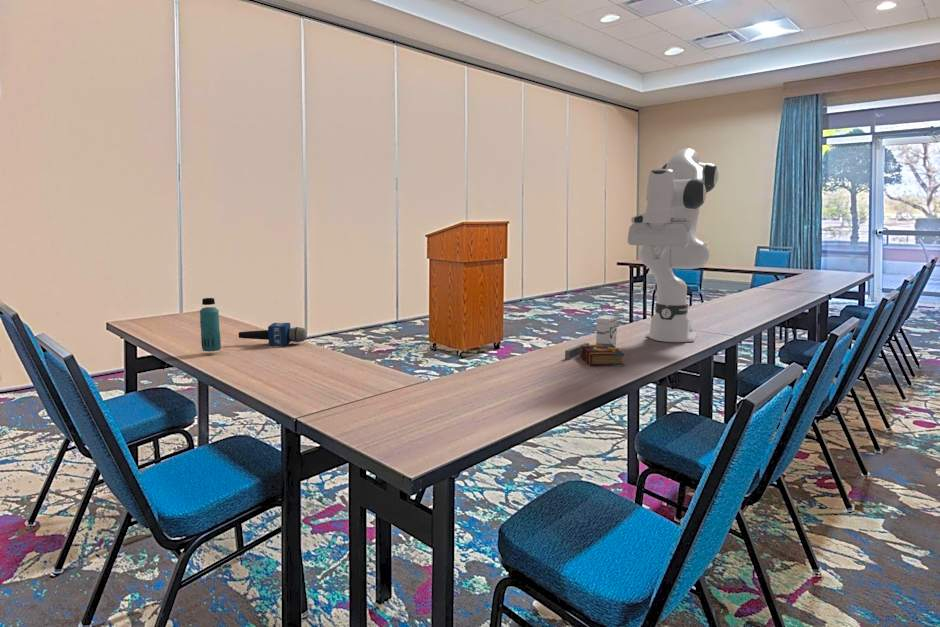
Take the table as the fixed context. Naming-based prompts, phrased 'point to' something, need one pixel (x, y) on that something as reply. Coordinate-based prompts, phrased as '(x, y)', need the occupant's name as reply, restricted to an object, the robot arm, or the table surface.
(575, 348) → the charcoal bar
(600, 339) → the ink box
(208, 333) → the beverage bottle
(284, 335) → the microphone
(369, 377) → the table surface
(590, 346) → the decorative book
